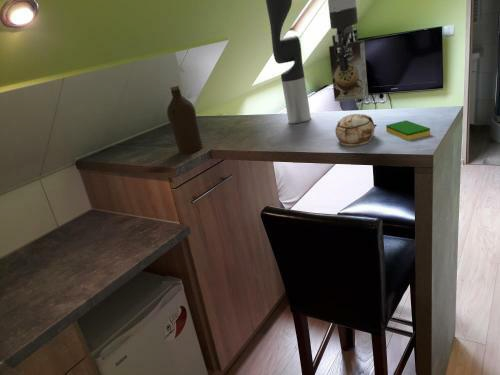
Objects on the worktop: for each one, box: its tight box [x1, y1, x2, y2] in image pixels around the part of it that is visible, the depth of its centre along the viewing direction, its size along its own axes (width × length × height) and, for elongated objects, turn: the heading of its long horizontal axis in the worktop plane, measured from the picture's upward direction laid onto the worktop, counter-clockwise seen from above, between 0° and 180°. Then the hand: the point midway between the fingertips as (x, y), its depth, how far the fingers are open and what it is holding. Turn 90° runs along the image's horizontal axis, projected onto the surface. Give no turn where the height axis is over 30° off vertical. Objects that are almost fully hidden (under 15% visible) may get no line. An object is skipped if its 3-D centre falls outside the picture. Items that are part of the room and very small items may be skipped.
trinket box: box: [334, 113, 377, 147], centre depth 124 cm, size 13×15×8 cm
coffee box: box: [328, 39, 369, 102], centre depth 117 cm, size 9×6×16 cm
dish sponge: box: [385, 120, 431, 141], centre depth 120 cm, size 7×14×2 cm, turn 8°
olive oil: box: [166, 85, 204, 155], centre depth 150 cm, size 11×11×25 cm
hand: (348, 68), depth 116 cm, fingers closed on coffee box, 6 cm apart
